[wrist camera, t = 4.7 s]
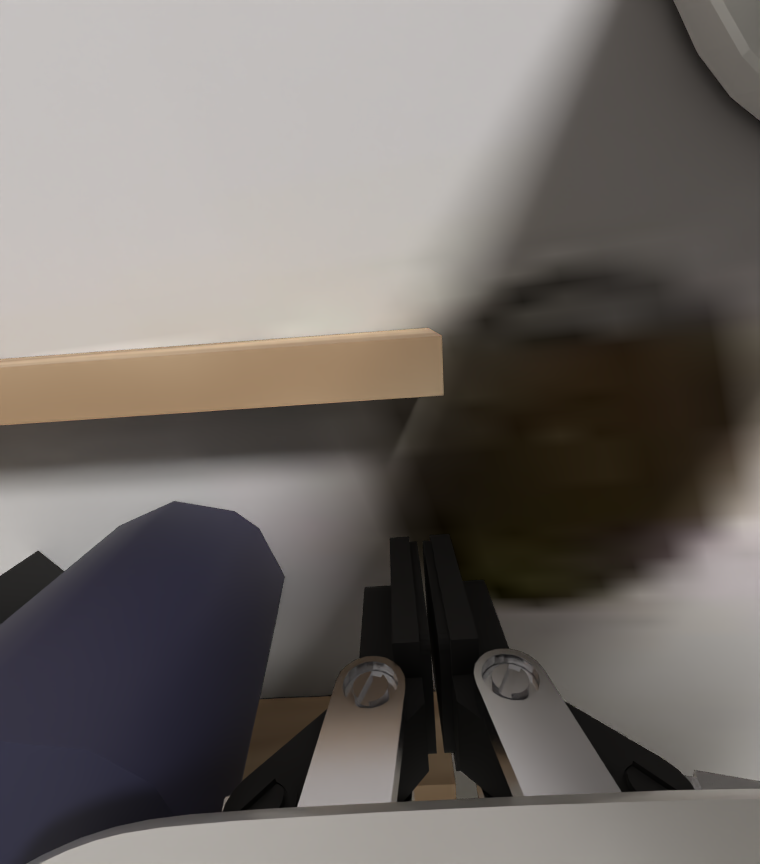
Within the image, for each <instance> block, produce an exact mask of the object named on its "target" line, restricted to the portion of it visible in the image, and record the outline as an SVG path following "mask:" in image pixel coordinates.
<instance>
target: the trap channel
mask: <svg viewBox="0 0 760 864" xmlns="http://www.w3.org/2000/svg"><path fill="white" fill-rule="evenodd" d="M441 395H444V389H443V356H442V335H440V334H438V333H436V332H434V331H433V330H431V329H429V328H418V329H405V330H391V331H377V332H364V333H350V334H336V335H322V336H309V337H295V338H281V339H268V340H254V341H240V342H227V343H213V344H199V345H186V346H172V347H158V348H145V349H131V350H117V351H104V352H90V353H76V354H63V355H49V356H35V357H22V358H8V359H0V425H12V424H27V423H42V422H57V421H71V420H86V419H101V418H116V417H131V416H145V415H160V414H175V413H190V412H204V411H219V410H234V409H249V408H263V407H278V406H293V405H308V404H322V403H337V402H352V401H367V400H381V399H396V398H411V397H426V396H441ZM433 695H434V712H435V729H436V746H437V754H428V761H429V772H428V773H427V774H426V776H425V777H424V778H423V779H422V780H421V782H420V783H419V784H418V785H417V786H416V788H415V789H414V798H415V801H429V800H451V799H456V783H455V776H454V769H453V762H452V755H451V753H444V747H443V739H442V732H441V724H440V717H439V709H438V702H437V694H436V691H435V692H433ZM330 699H331V696H322V697H300V698H278V699H259V704H258V708H257V713H256V718H255V723H254V727H253V732H252V737H251V741H250V746H249V751H248V755H247V760H246V765H245V769H244V774H243V779H242V781H243V780H244V779H245V778H246V777H247V776H248V775H250V774H251V773H252V772H253V771H254V770H255V769H257V768H258V767H259V766H260V765H261V764H263V763H264V762H265V761H266V760H267V759H268V758H270V757H271V756H272V755H273V754H274V753H276V752H277V751H278V750H279V749H280V748H281V747H283V746H284V745H285V744H286V743H287V742H289V741H290V740H291V739H292V738H293V737H294V736H296V735H297V734H298V733H299V732H300V731H302V730H303V729H304V728H305V727H306V726H307V725H309V724H310V723H311V722H312V721H313V720H315V719H316V718H317V717H318V716H319V715H320V714H322V713H323V712H324V711H325V710H326V709H327V708H328V705H329V702H330Z"/></svg>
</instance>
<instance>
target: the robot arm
mask: <svg viewBox="0 0 760 864" xmlns="http://www.w3.org/2000/svg"><path fill="white" fill-rule="evenodd" d="M674 3H675V5H676V7H677V9H678V11H679V14H680V16H681V18H682V20H683V22H684V25H685V27H686V29H687V31H688V33H689V36H690V38H691V40H692V42H693V44H694V47H695V49H696V51H697V53H698V55H699V56H700V57H701V58H702V60H703V61H704V62H705V64H706V65H707V66H708V68H709V69H710V70H711V72H712V73H713V74H714V76H715V77H716V78H717V80H718V81H719V82H720V84H721V85H722V86H723V88H724V89H725V90H726V92H727V93H728V94H729V96H730V97H731V98H732V99H734V100H735V101H736V102H737V103H739V104H740V105H741V106H742V107H743V108H745V109H746V110H747V111H748V112H750V113H751V114H752V115H753V116H754V117H756V118H757V119H758V120H759V121H760V0H674ZM423 558H424V574H425V591H426V606H425V598H424V591H423V583H422V576H421V569H420V561H419V554H418V546H417V541H414V542H409V537H396V538H390V568H391V585H390V586H375V587H365V590H364V603H363V616H362V630H361V644H360V657H359V659H356V660H355V661H353V662H351V663H350V664H348V665H347V666H346V667H345V668H344V669H343V670H342V671H341V672H340V674H339V676H338V678H337V680H336V682H335V686H334V689H333V692H332V695H331V699H330V702H329V705H328V708H327V709H326V710H325V711H324V712H323V713H322V714H320V715H319V716H318V717H317V718H316V719H315V720H313V721H312V722H311V723H310V724H309V725H307V726H306V727H305V728H304V729H303V730H302V731H300V732H299V733H298V734H297V735H296V736H294V737H293V738H292V739H291V740H290V741H289V742H287V743H286V744H285V745H284V746H283V747H281V748H280V749H279V750H278V751H277V752H276V753H274V754H273V755H272V756H271V757H270V758H268V759H267V760H266V761H265V762H264V763H263V764H261V765H260V766H259V767H258V768H257V769H255V770H254V771H253V772H252V773H251V774H250V775H248V776H247V777H246V778H245V779H244V780H243V781H242V782H241V783H240V784H239V785H238V786H237V787H236V788H235V789H234V790H233V792H232V793H231V795H230V796H227V797H225V798H224V803H223V809H222V812H216V813H202V814H189V815H181V816H173V817H165V818H157V819H149V820H144V821H140V822H135V823H130V824H125V825H121V826H116V827H113V828H109V829H106V830H103V831H100V832H97V833H94V834H91V835H87V836H84V837H81V838H79V839H77V840H74V841H72V842H70V843H68V844H65V845H63V846H61V847H59V848H56V849H54V850H52V851H50V852H47V853H45V854H43V855H41V856H39V857H38V858H36V859H34V860H32V861H30V862H28V863H27V864H760V781H755V780H749V779H744V778H738V777H732V776H726V775H721V774H715V773H709V772H703V771H698V770H694V774H693V777H691V776H685V775H683V774H682V773H681V772H680V771H679V770H678V769H677V768H675V767H674V766H672V765H671V764H670V763H668V762H667V761H665V760H664V759H662V758H661V757H659V756H657V755H656V754H654V753H652V752H650V751H649V750H647V749H645V748H644V747H642V746H640V745H638V744H637V743H635V742H633V741H632V740H630V739H628V738H627V737H625V736H623V735H621V734H620V733H618V732H616V731H615V730H613V729H611V728H609V727H608V726H606V725H604V724H603V723H601V722H599V721H598V720H596V719H594V718H592V717H591V716H589V715H587V714H586V713H584V712H582V711H580V710H579V709H577V708H575V707H574V706H572V705H570V704H568V703H567V702H565V701H564V700H563V699H562V697H561V695H560V694H559V692H558V691H557V689H556V687H555V686H554V684H553V683H552V681H551V680H550V678H549V676H548V675H547V673H546V672H545V670H544V669H543V668H542V666H541V665H540V664H539V663H538V662H537V661H536V660H535V659H533V658H532V657H530V656H529V655H527V654H525V653H523V652H520V651H518V650H513V649H509V647H508V644H507V642H506V639H505V636H504V633H503V631H502V628H501V625H500V622H499V620H498V617H497V614H496V611H495V609H494V606H493V603H492V600H491V597H490V595H489V592H488V589H487V586H486V584H485V582H484V580H470V581H462V578H461V574H460V571H459V567H458V564H457V560H456V556H455V553H454V549H453V546H452V542H451V539H450V535H449V534H441V535H430V540H429V541H423ZM426 607H427V613H426ZM431 656H432V661H431ZM432 664H433V671H434V679H435V687H436V694H437V702H438V709H439V717H440V724H441V732H442V739H443V747H444V753H454V759H455V765H456V771H462V772H463V773H464V774H465V775H467V776H468V777H469V778H470V779H471V780H473V781H474V782H475V783H476V784H477V793H478V798H472V799H451V800H429V801H415V798H414V789H415V788H416V786H417V785H418V784H419V783H420V782H421V780H422V779H423V778H424V777H425V776H426V774H427V773H428V772H429V761H428V754H437V746H436V729H435V712H434V695H433V678H432Z"/></svg>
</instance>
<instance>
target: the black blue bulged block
mask: <svg viewBox="0 0 760 864" xmlns="http://www.w3.org/2000/svg"><path fill="white" fill-rule="evenodd" d="M284 578H285V576H284V574H283V572H282V571H281V569H280V567H279V565H278V563H277V561H276V559H275V557H274V555H273V554H272V552H271V550H270V548H269V546H268V544H267V542H266V540H265V539H264V537H263V535H262V533H261V531H260V529H259V528H258V527H256V526H255V525H253V524H252V523H251V522H249V521H248V520H246V519H245V518H243V517H242V516H241V515H239V514H238V513H236V512H235V511H229V510H223V509H217V508H211V507H206V506H200V505H194V504H188V503H182V502H176V501H174V502H171V503H169V504H167V505H165V506H163V507H160V508H158V509H156V510H154V511H151V512H149V513H147V514H145V515H142V516H140V517H138V518H136V519H134V520H131V521H129V522H127V523H125V524H122V525H120V526H119V527H117V528H116V529H115V530H114V531H113V532H111V533H110V534H109V535H108V536H107V537H105V538H104V539H103V540H102V541H101V542H99V543H98V544H97V545H96V546H95V547H93V548H92V549H91V550H90V551H89V552H87V553H86V554H85V555H84V556H82V557H81V558H80V559H79V560H78V561H76V562H75V563H74V564H73V565H72V566H70V567H69V568H68V569H67V570H66V571H62V570H61V569H60V568H59V567H57V566H56V565H55V564H54V563H53V562H51V561H50V560H49V559H48V558H46V557H45V556H44V555H43V554H41V553H40V552H39V551H37V552H35V553H34V554H32V555H31V556H29V557H28V558H26V559H25V560H23V561H22V562H20V563H19V564H17V565H16V566H14V567H13V568H11V569H10V570H8V571H7V572H5V573H4V574H2V575H1V576H0V864H27V863H28V862H30V861H32V860H34V859H36V858H38V857H39V856H41V855H43V854H45V853H47V852H50V851H52V850H54V849H56V848H59V847H61V846H63V845H65V844H68V843H70V842H72V841H74V840H77V839H79V838H81V837H84V836H87V835H91V834H94V833H97V832H100V831H103V830H106V829H109V828H113V827H116V826H121V825H125V824H130V823H135V822H140V821H144V820H149V819H157V818H165V817H173V816H181V815H189V814H202V813H216V812H222V809H223V803H224V798H225V797H227V796H230V795H231V793H232V792H233V790H234V789H235V788H236V787H237V786H238V785H239V784H240V783H241V782H242V779H243V774H244V769H245V765H246V760H247V755H248V751H249V746H250V741H251V737H252V732H253V727H254V723H255V718H256V713H257V708H258V704H259V699H260V694H261V690H262V685H263V680H264V676H265V671H266V666H267V662H268V657H269V652H270V648H271V643H272V638H273V633H274V629H275V624H276V619H277V614H278V608H279V603H280V598H281V593H282V588H283V583H284Z"/></svg>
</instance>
